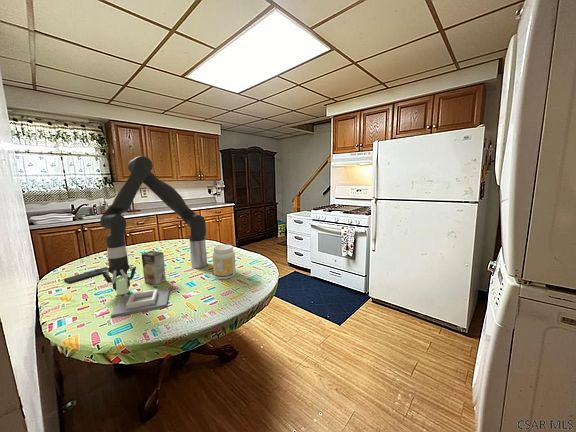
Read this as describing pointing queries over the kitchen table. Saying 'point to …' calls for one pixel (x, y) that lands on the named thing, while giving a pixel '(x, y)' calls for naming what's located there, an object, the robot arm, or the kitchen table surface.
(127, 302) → the holder board
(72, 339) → the kitchen table surface
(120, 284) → the candle
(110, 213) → the robot arm
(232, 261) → the supplement tub
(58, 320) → the kitchen table surface
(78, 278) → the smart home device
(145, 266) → the coffee box
